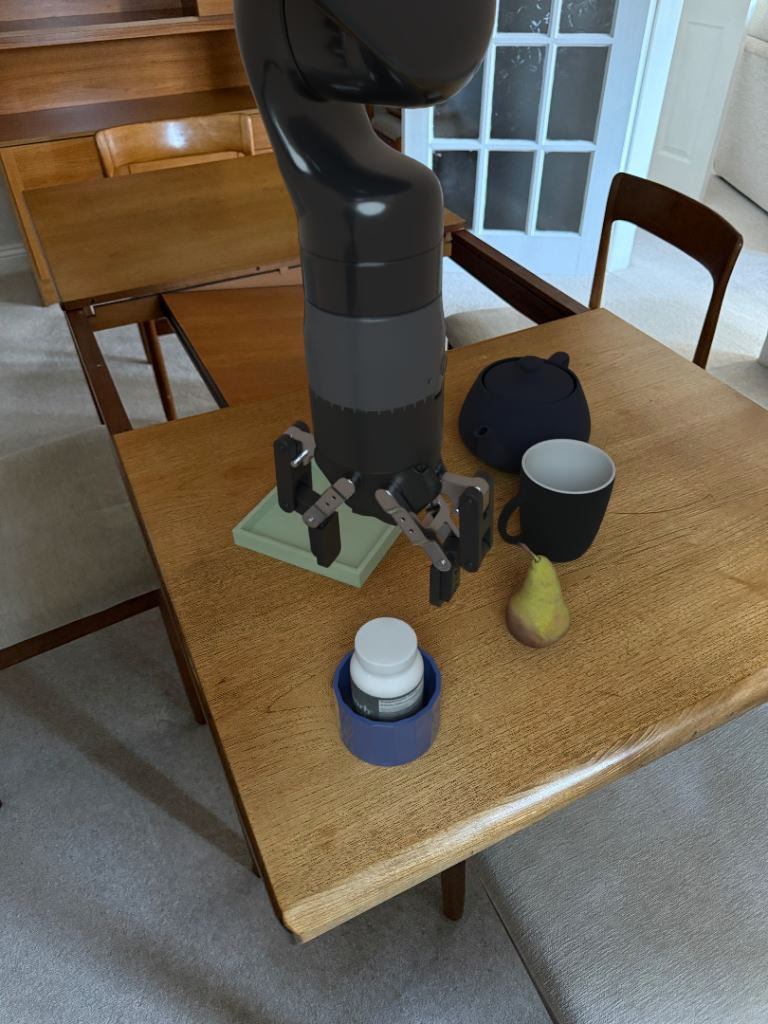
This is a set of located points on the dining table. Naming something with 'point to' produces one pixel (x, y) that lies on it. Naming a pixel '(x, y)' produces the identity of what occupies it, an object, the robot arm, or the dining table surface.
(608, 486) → the mug
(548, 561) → the fruit
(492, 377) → the teapot
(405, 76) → the robot arm
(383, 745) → the pen cup
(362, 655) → the pill bottle
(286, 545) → the tray
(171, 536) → the dining table surface
